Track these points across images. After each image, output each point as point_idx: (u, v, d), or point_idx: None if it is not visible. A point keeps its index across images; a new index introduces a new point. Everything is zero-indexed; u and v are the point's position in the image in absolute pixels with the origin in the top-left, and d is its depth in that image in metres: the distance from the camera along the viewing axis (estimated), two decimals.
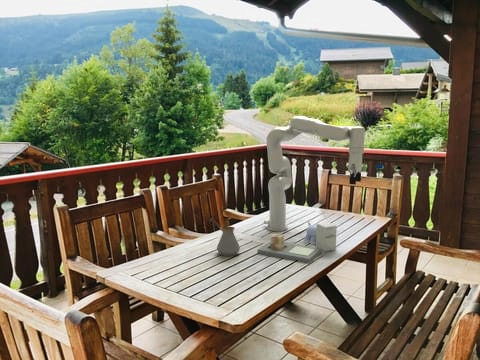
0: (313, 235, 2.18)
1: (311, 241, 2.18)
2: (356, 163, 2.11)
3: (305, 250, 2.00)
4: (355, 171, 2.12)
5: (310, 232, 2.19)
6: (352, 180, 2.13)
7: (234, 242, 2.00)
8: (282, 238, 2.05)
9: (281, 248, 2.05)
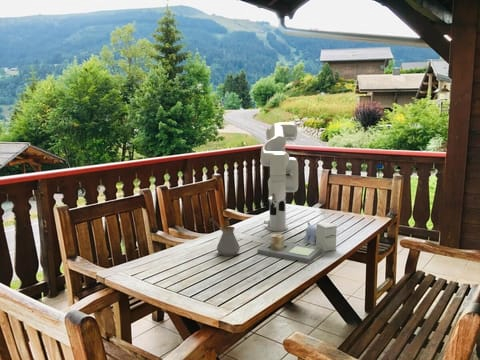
0: (312, 235, 2.18)
1: (310, 241, 2.18)
2: (276, 192, 1.97)
3: (305, 250, 2.00)
4: (275, 201, 1.98)
5: (309, 232, 2.19)
6: (272, 211, 1.98)
7: (234, 242, 2.00)
8: (282, 238, 2.05)
9: (281, 248, 2.05)
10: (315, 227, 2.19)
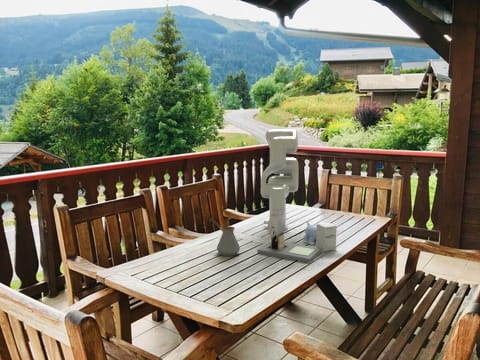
0: (311, 235, 2.18)
1: (309, 241, 2.18)
2: (276, 226, 2.00)
3: (305, 250, 2.00)
4: None
5: (308, 232, 2.19)
6: (274, 245, 2.03)
7: (234, 242, 2.00)
8: (282, 238, 2.05)
9: (281, 248, 2.05)
10: (314, 227, 2.19)
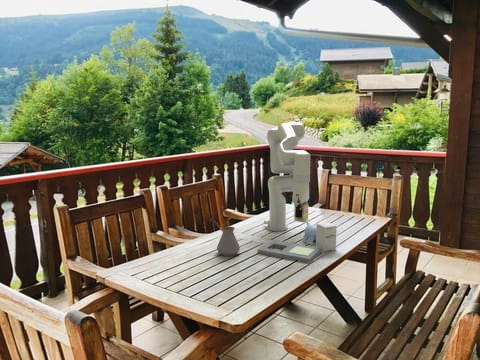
0: (311, 235, 2.18)
1: (309, 241, 2.18)
2: (300, 193, 1.90)
3: (305, 250, 2.00)
4: None
5: (308, 232, 2.19)
6: (298, 213, 1.94)
7: (234, 242, 2.00)
8: (306, 207, 1.96)
9: (305, 217, 1.96)
10: (313, 227, 2.18)
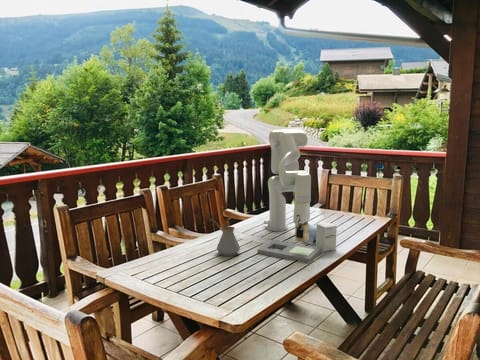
0: (310, 235, 2.18)
1: (308, 241, 2.18)
2: (301, 214, 1.92)
3: (305, 250, 2.00)
4: None
5: None
6: (299, 233, 1.95)
7: (234, 242, 2.00)
8: (307, 227, 1.97)
9: (306, 237, 1.97)
10: (313, 227, 2.18)
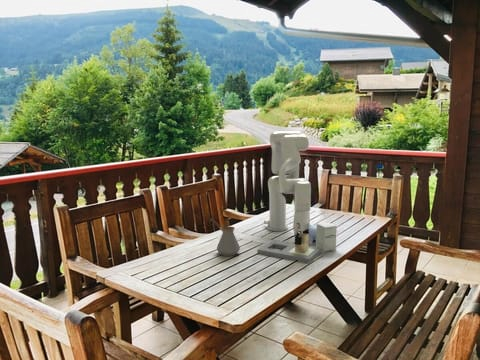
0: (310, 235, 2.18)
1: None
2: (301, 222, 1.93)
3: None
4: (300, 230, 1.93)
5: None
6: (297, 240, 1.94)
7: (234, 242, 2.00)
8: (307, 237, 1.98)
9: (306, 248, 1.98)
10: (313, 227, 2.18)
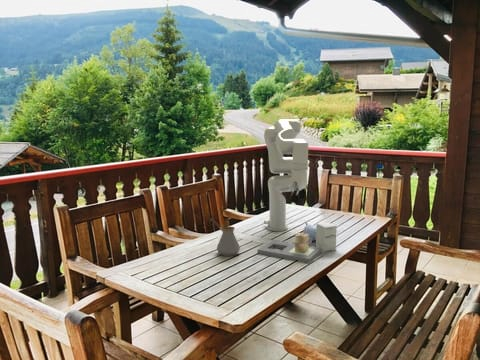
0: (309, 235, 2.18)
1: None
2: (298, 181, 1.97)
3: None
4: (297, 189, 1.98)
5: (306, 232, 2.19)
6: (294, 198, 1.99)
7: (234, 242, 2.00)
8: (307, 237, 1.98)
9: (306, 248, 1.98)
10: (312, 227, 2.18)
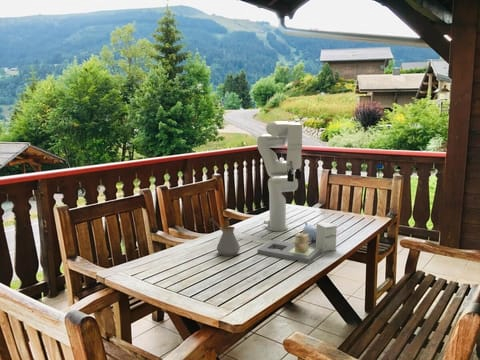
0: None
1: None
2: (293, 160, 2.09)
3: None
4: (292, 168, 2.10)
5: (306, 232, 2.19)
6: (290, 177, 2.11)
7: (234, 242, 2.00)
8: (307, 237, 1.98)
9: (306, 248, 1.98)
10: (311, 227, 2.18)
